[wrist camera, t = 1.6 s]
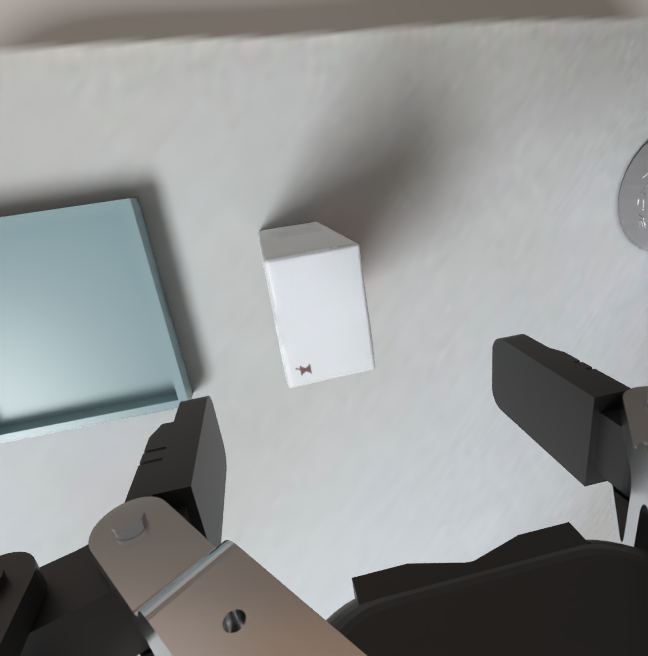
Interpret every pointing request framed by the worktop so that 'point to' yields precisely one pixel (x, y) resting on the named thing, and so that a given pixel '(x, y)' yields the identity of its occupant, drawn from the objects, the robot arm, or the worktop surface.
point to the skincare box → (317, 302)
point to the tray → (83, 321)
